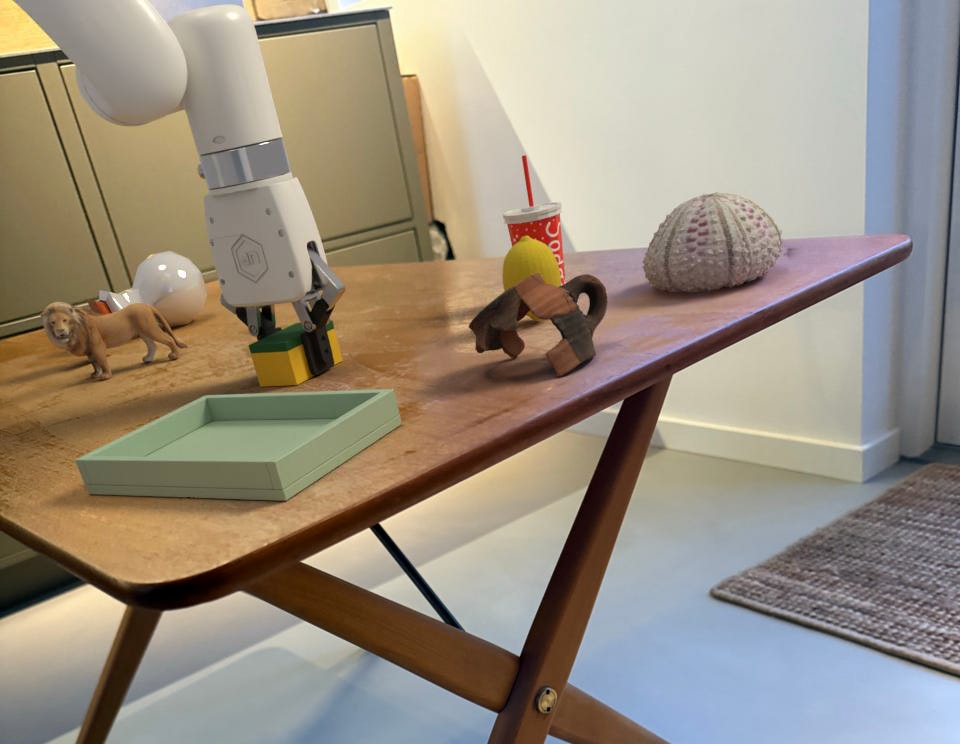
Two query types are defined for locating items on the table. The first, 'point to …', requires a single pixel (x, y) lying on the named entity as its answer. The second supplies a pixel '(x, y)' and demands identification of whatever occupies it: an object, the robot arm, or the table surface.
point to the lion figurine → (106, 332)
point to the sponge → (286, 356)
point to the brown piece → (544, 318)
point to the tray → (242, 445)
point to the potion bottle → (161, 289)
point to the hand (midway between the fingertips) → (301, 369)
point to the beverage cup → (537, 223)
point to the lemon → (530, 265)
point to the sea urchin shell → (712, 244)
